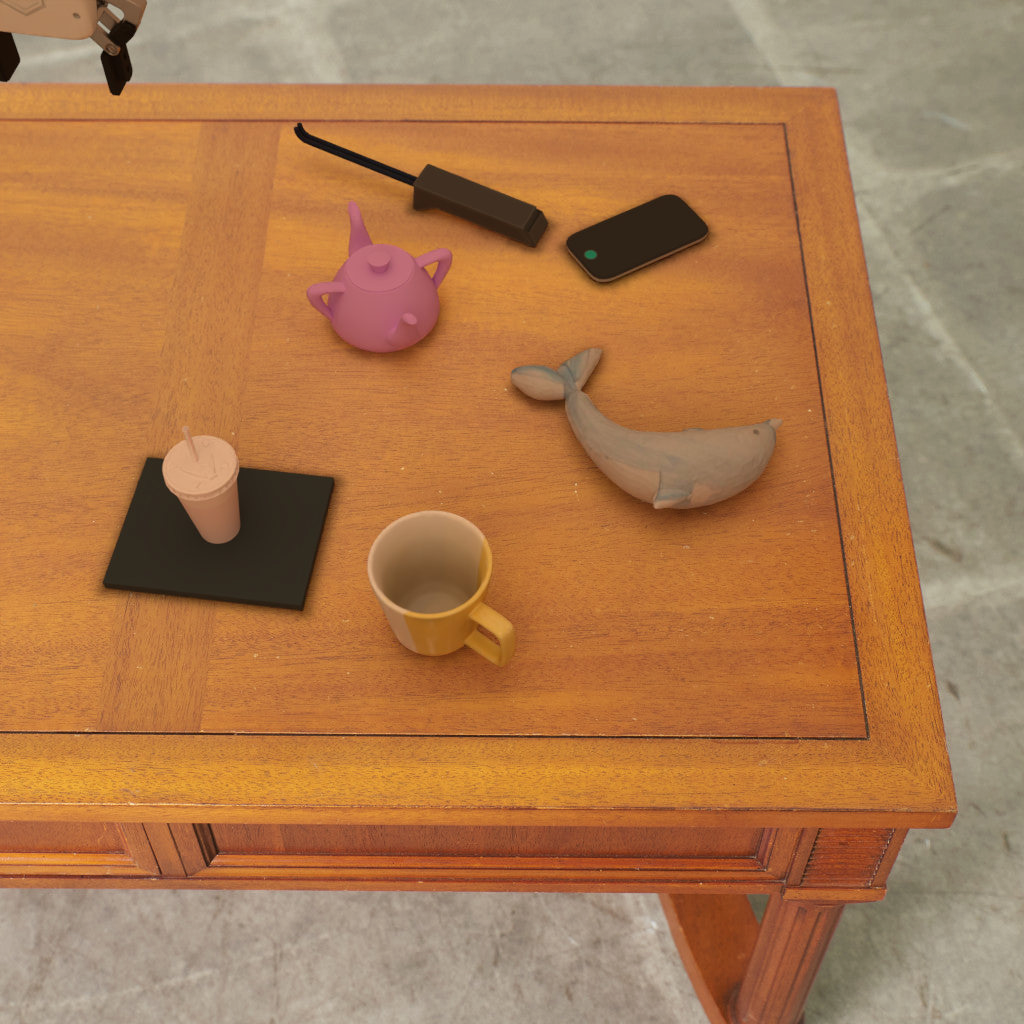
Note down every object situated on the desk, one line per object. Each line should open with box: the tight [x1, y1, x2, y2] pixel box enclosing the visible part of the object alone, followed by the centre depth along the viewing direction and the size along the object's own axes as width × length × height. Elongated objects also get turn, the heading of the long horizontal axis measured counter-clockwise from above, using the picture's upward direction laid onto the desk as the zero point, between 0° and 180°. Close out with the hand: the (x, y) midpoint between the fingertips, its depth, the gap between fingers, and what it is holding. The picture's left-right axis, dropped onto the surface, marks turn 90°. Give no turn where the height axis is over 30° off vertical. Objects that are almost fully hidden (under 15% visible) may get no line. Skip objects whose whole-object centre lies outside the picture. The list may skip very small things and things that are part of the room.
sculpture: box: [509, 347, 784, 510], centre depth 123 cm, size 18×8×25 cm
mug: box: [366, 509, 517, 668], centre depth 107 cm, size 14×10×10 cm
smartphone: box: [565, 194, 710, 283], centre depth 138 cm, size 8×1×15 cm
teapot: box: [305, 200, 453, 354], centre depth 128 cm, size 12×14×9 cm
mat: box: [102, 456, 336, 612], centre depth 117 cm, size 18×14×1 cm
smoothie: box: [162, 425, 240, 544], centre depth 111 cm, size 6×6×14 cm
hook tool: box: [293, 122, 549, 248], centre depth 141 cm, size 4×4×30 cm
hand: (65, 78), depth 108 cm, fingers open, 9 cm apart
